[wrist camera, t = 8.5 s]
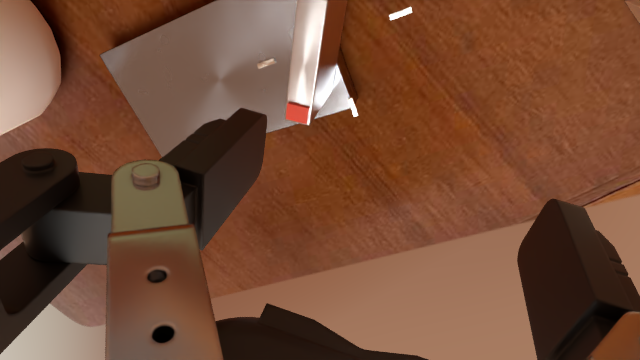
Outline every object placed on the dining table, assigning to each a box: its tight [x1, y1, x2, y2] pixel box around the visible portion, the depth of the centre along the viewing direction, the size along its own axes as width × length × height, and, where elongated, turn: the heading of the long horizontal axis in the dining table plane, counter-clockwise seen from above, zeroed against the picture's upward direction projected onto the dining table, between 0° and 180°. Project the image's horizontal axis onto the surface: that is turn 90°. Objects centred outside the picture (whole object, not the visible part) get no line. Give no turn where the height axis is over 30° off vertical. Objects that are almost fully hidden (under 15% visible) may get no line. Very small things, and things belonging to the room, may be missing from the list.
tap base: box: [100, 0, 412, 157], centre depth 30 cm, size 24×11×2 cm, turn 112°
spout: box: [285, 0, 347, 125], centre depth 25 cm, size 7×2×6 cm, turn 171°
